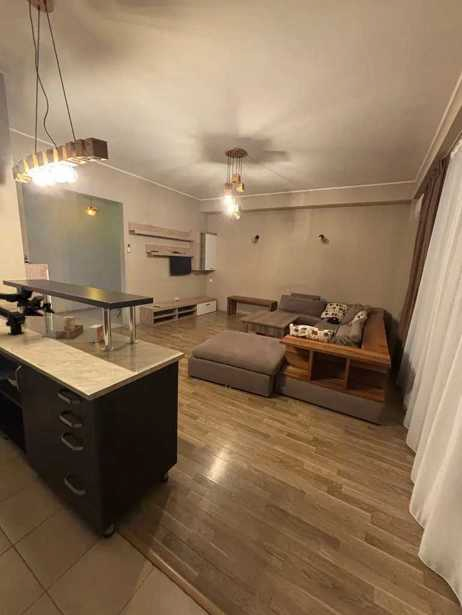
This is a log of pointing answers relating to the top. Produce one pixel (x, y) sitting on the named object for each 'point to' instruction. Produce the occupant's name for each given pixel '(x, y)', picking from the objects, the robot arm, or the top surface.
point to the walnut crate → (69, 333)
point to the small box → (95, 333)
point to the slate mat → (50, 334)
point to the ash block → (69, 323)
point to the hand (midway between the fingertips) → (49, 314)
